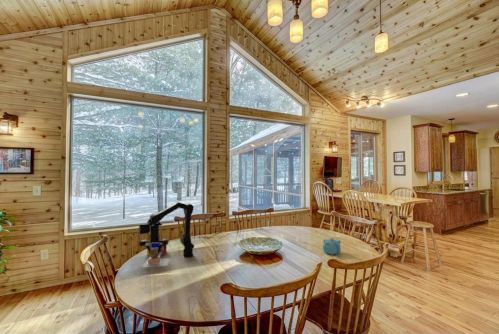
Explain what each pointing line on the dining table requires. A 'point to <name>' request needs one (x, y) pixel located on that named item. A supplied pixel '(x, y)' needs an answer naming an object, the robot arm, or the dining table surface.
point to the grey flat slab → (162, 263)
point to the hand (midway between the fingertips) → (154, 254)
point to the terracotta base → (154, 260)
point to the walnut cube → (154, 252)
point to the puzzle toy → (163, 248)
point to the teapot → (331, 246)
